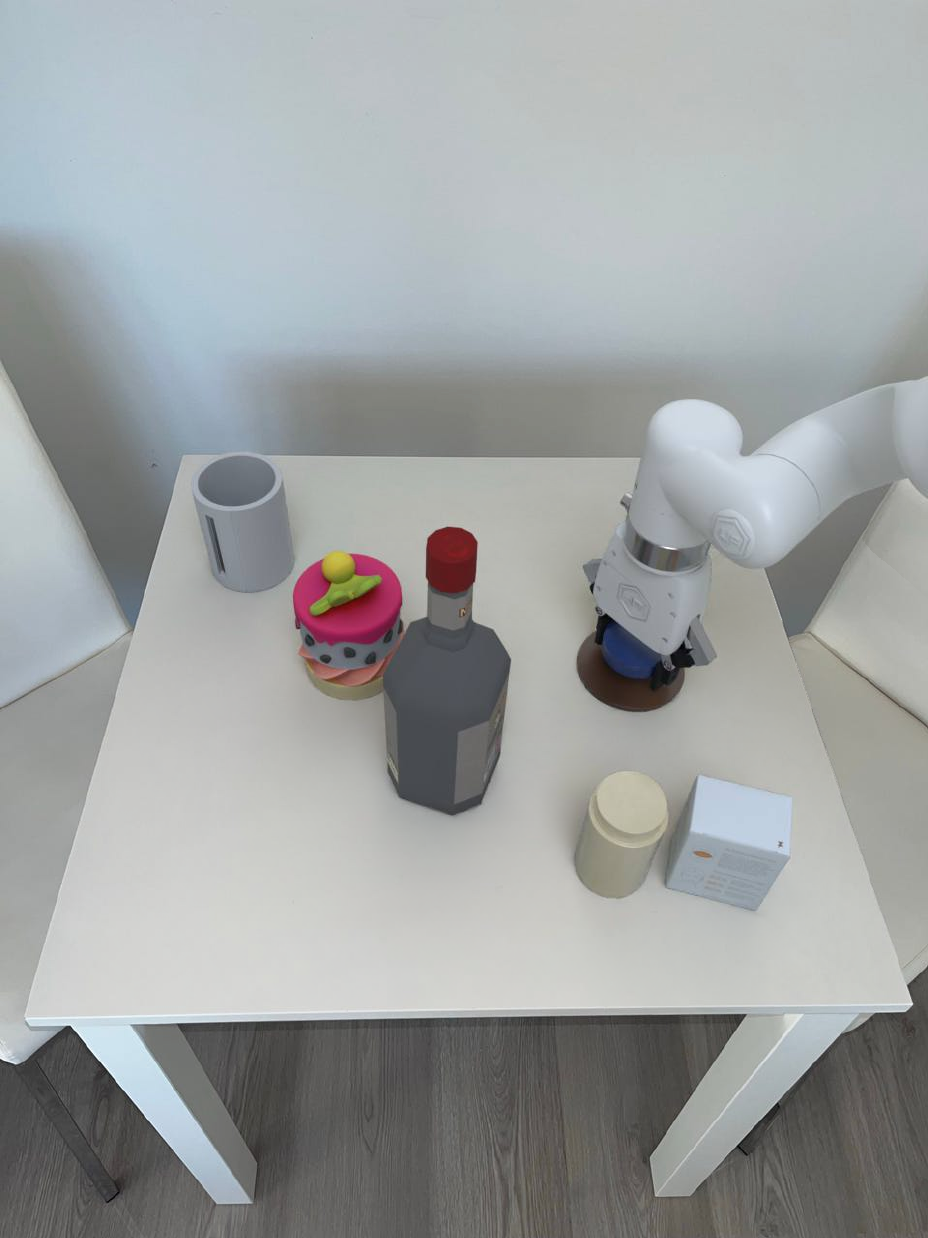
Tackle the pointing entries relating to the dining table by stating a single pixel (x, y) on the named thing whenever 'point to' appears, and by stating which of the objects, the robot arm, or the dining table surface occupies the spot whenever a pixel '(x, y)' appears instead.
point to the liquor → (446, 688)
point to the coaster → (620, 682)
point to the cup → (244, 520)
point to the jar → (620, 834)
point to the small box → (730, 842)
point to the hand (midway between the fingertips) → (633, 658)
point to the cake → (348, 623)
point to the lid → (628, 653)
